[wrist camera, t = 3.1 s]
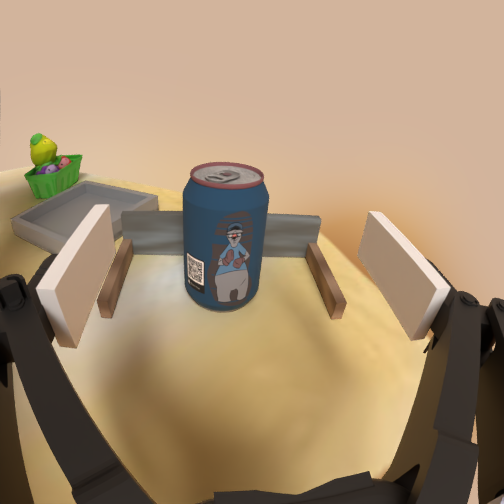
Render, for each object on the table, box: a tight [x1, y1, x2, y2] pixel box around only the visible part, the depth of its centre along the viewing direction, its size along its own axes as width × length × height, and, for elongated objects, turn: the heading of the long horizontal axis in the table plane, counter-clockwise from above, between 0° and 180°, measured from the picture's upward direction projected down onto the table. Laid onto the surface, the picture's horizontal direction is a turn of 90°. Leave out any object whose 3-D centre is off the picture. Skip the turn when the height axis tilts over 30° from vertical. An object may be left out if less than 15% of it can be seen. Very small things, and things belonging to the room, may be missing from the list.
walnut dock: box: [97, 211, 347, 319], centre depth 30 cm, size 12×22×5 cm, turn 96°
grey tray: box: [11, 181, 158, 254], centre depth 39 cm, size 16×16×2 cm
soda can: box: [183, 162, 269, 312], centre depth 27 cm, size 7×7×12 cm
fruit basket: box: [24, 133, 82, 199], centre depth 47 cm, size 11×9×11 cm
